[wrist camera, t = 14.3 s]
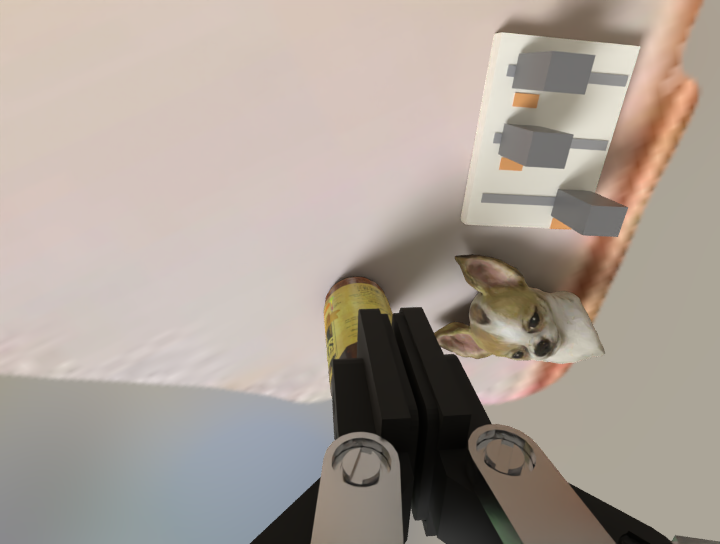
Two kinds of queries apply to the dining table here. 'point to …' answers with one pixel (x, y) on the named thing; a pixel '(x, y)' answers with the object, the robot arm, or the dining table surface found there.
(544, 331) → the ceramic sculpture
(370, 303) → the sauce bottle
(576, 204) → the slider
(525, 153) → the slider
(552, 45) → the switch panel
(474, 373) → the dining table surface
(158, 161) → the dining table surface
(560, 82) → the slider
